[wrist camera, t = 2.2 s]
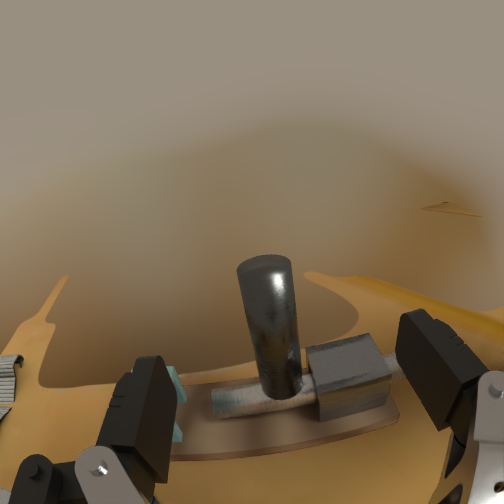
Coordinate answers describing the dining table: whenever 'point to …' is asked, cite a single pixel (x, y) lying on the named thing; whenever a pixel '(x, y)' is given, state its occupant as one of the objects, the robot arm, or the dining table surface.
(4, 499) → the canned food
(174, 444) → the board
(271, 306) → the slide bolt
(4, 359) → the mat
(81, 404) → the dining table surface
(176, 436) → the socket block
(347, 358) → the sleeve
